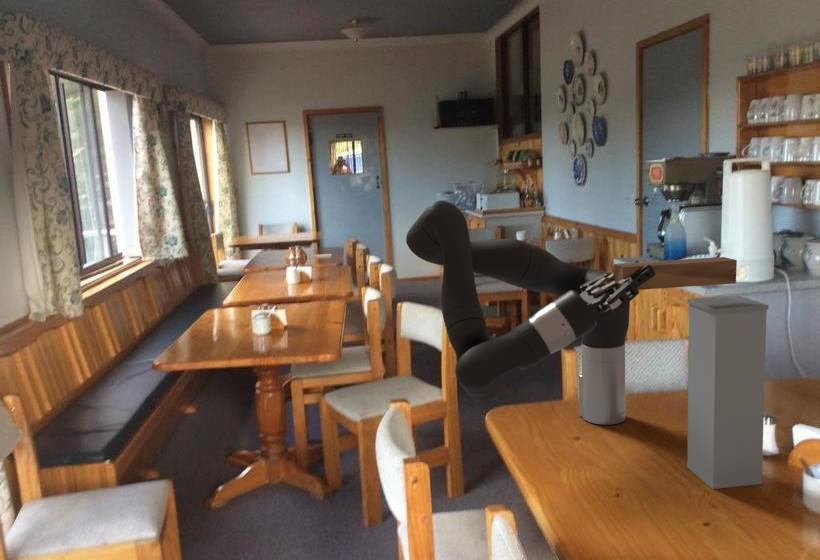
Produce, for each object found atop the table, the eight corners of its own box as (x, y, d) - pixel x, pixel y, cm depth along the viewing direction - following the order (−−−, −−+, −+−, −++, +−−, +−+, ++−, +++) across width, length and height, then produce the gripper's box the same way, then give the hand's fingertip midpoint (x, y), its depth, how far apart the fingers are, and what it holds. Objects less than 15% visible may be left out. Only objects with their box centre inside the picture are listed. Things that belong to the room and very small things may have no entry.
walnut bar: (613, 286, 123) (613, 263, 123) (723, 279, 125) (723, 257, 125) (622, 290, 119) (622, 267, 119) (735, 283, 121) (736, 260, 121)
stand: (685, 467, 133) (687, 298, 128) (733, 462, 134) (737, 294, 129) (712, 489, 124) (715, 309, 119) (763, 484, 125) (768, 304, 120)
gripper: (564, 313, 113) (654, 253, 113) (537, 296, 127) (618, 243, 127) (587, 351, 115) (676, 292, 115) (558, 330, 129) (638, 278, 129)
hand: (645, 267), depth 121 cm, fingers closed on walnut bar, 4 cm apart
